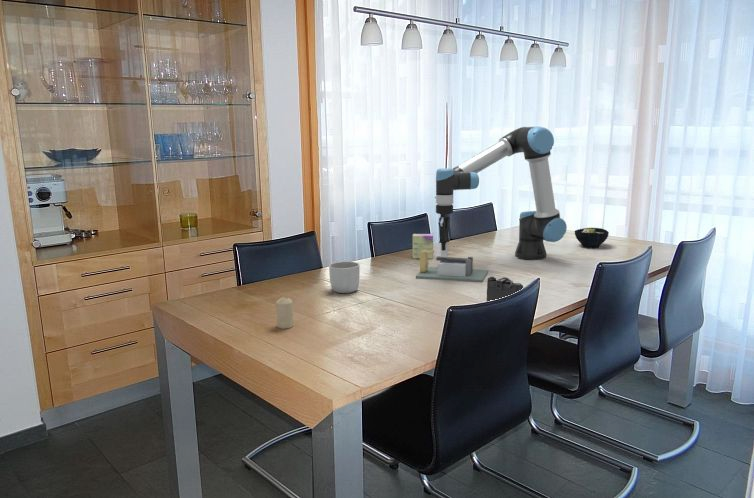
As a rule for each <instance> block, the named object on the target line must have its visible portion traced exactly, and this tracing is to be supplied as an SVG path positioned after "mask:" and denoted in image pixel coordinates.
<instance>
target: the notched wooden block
mask: <svg viewBox="0 0 754 498" xmlns="http://www.w3.org/2000/svg"><path fill="white" fill-rule="evenodd" d="M434 253H435V250H434V249H433V250H422V251H421V252H420V258H419V272H426V271H427V270H428V267H429V259H428V254H433V255H434Z"/></svg>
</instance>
